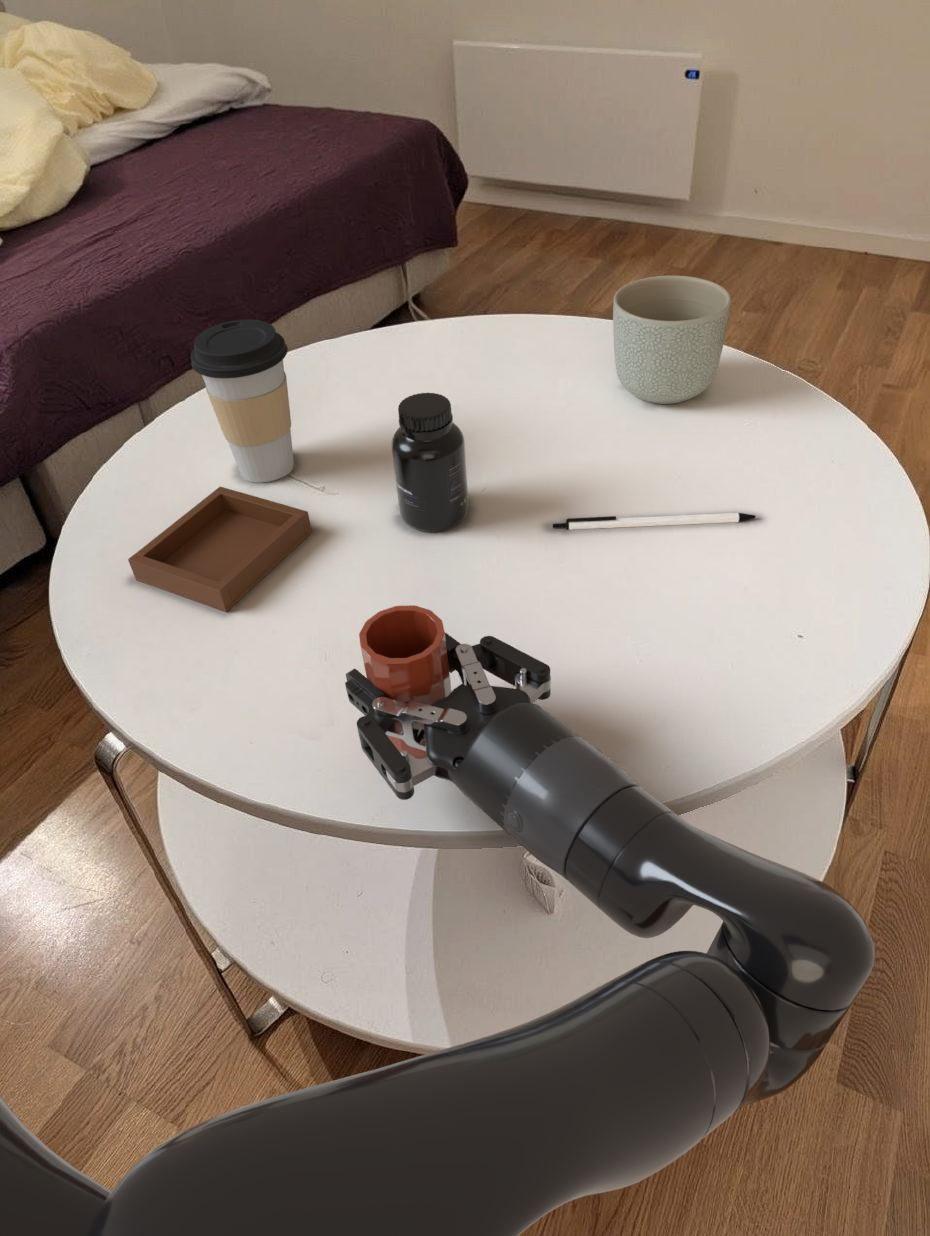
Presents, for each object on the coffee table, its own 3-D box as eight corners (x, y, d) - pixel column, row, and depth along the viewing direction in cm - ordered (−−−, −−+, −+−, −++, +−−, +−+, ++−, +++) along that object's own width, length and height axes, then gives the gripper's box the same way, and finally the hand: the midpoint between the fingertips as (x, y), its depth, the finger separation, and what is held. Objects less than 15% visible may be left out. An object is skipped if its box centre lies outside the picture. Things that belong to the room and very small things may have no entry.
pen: (552, 526, 88) (552, 517, 87) (755, 517, 87) (756, 507, 86) (553, 532, 87) (553, 522, 87) (757, 523, 86) (758, 513, 85)
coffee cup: (277, 436, 104) (247, 308, 94) (328, 465, 99) (303, 332, 89) (206, 471, 99) (167, 340, 89) (256, 504, 94) (220, 368, 84)
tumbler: (431, 770, 67) (416, 673, 60) (363, 743, 69) (342, 647, 62) (469, 716, 70) (459, 619, 64) (403, 692, 73) (387, 596, 66)
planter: (587, 392, 107) (589, 301, 100) (655, 355, 113) (662, 266, 105) (673, 428, 100) (682, 332, 92) (741, 386, 105) (754, 293, 98)
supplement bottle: (389, 527, 89) (372, 418, 81) (416, 489, 94) (403, 382, 86) (454, 539, 87) (444, 428, 79) (479, 500, 92) (472, 390, 84)
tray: (226, 612, 81) (219, 591, 80) (135, 580, 86) (127, 559, 84) (312, 532, 90) (308, 511, 88) (225, 506, 94) (219, 486, 92)
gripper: (468, 893, 56) (314, 743, 66) (625, 765, 63) (464, 645, 73) (459, 820, 51) (294, 669, 61) (631, 689, 58) (457, 572, 68)
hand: (387, 657), depth 67 cm, fingers closed on tumbler, 6 cm apart
